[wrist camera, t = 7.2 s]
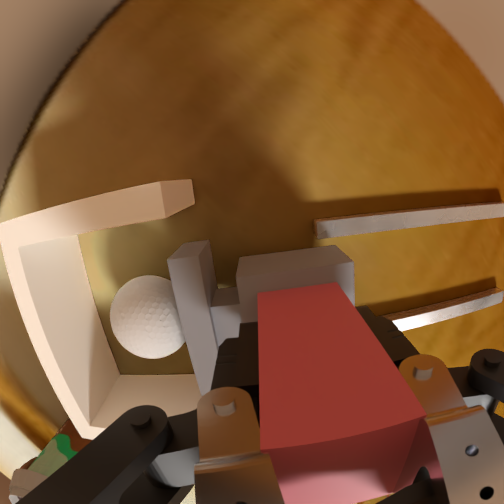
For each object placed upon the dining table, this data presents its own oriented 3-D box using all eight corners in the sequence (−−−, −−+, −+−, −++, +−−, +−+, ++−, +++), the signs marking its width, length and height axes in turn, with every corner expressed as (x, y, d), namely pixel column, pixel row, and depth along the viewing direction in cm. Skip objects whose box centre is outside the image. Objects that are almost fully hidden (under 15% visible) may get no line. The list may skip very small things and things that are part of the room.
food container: (48, 372, 17) (-23, 458, 8) (120, 405, 18) (65, 515, 8) (65, 457, 20) (28, 525, 11) (120, 481, 21) (92, 558, 11)
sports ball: (213, 308, 16) (202, 348, 12) (162, 345, 16) (141, 387, 12) (163, 249, 15) (135, 274, 11) (114, 293, 16) (81, 325, 12)
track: (502, 201, 14) (510, 202, 13) (495, 297, 16) (501, 302, 15) (313, 219, 14) (316, 222, 14) (321, 339, 16) (324, 346, 15)
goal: (191, 179, 14) (159, 181, 9) (230, 387, 17) (223, 449, 12) (56, 208, 14) (-4, 224, 10) (111, 388, 17) (82, 437, 12)
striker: (333, 223, 13) (478, 325, 4) (338, 345, 15) (407, 508, 5) (184, 242, 14) (59, 374, 4) (209, 361, 15) (172, 534, 6)
